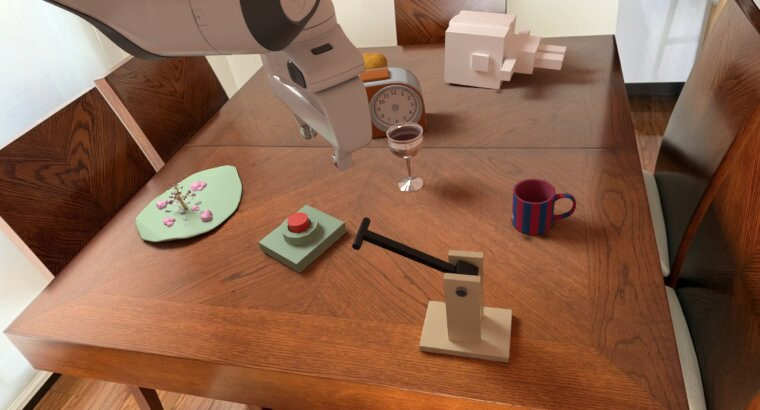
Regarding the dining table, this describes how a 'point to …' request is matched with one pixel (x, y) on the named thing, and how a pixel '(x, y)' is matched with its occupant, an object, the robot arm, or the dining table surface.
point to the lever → (410, 252)
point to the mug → (536, 206)
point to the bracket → (466, 317)
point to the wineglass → (406, 150)
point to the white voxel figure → (493, 50)
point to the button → (298, 222)
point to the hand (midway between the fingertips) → (326, 150)
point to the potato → (374, 61)
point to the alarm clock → (393, 98)
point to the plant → (191, 206)
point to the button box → (303, 239)
